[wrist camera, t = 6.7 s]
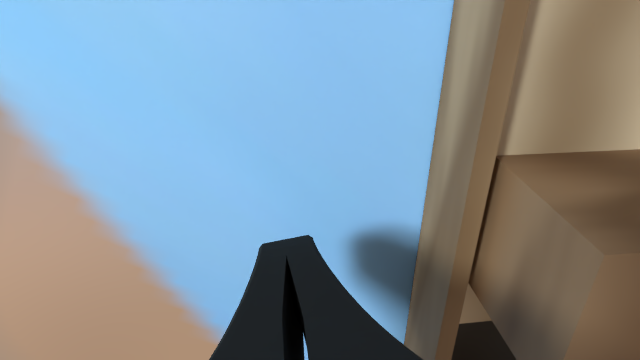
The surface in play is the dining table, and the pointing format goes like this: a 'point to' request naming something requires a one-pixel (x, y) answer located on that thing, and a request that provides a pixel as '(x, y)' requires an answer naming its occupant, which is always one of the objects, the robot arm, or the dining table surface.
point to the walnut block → (563, 255)
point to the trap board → (512, 137)
